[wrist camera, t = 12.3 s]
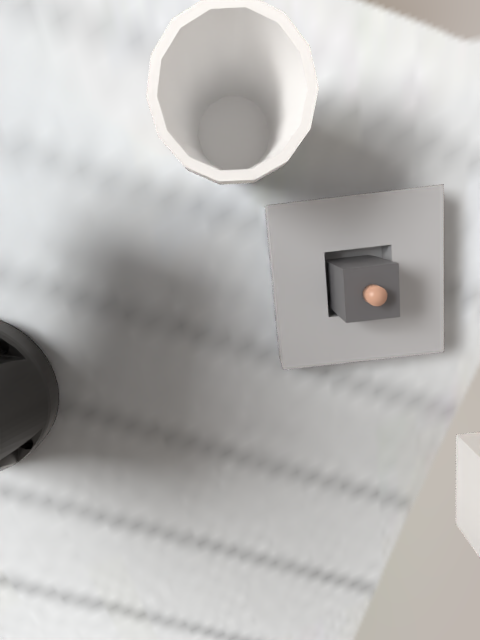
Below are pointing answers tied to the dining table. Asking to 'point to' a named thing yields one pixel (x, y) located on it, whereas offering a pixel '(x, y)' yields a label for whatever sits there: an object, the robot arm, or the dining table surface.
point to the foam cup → (232, 89)
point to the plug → (363, 288)
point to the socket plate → (347, 241)
